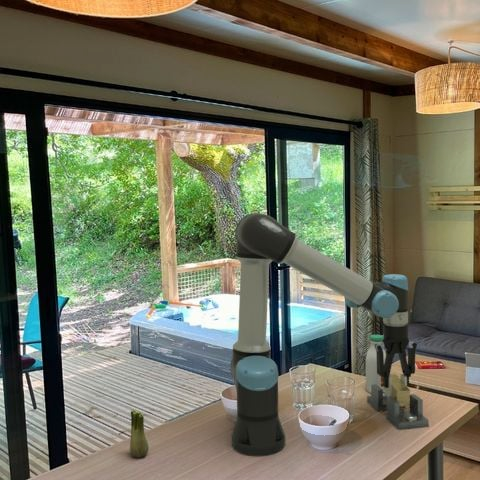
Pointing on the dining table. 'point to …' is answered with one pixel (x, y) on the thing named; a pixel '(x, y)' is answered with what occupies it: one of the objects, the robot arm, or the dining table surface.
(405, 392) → the link bar
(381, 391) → the chain end far
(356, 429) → the dining table surface
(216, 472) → the dining table surface
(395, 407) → the bracket
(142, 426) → the fennel bulb
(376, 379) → the milk bottle
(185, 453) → the dining table surface
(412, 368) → the robot arm
